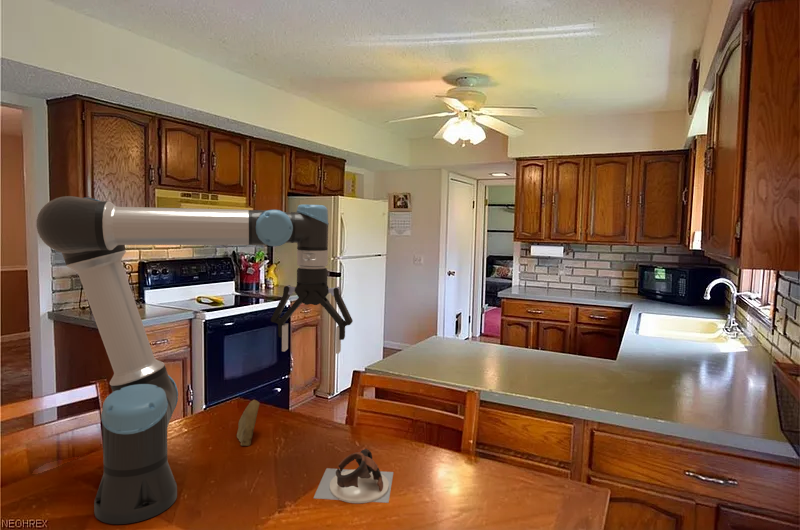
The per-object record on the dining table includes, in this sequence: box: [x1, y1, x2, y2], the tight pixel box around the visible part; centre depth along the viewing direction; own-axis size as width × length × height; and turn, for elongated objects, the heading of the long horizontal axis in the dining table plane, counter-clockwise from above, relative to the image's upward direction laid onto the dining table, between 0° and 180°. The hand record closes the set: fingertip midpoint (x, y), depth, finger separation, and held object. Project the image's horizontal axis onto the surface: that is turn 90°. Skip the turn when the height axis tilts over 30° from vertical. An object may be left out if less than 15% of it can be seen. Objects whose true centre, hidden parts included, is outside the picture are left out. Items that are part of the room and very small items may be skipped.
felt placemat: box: [313, 467, 394, 504], centre depth 111 cm, size 16×13×1 cm
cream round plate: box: [330, 468, 389, 504], centre depth 110 cm, size 13×13×1 cm
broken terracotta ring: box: [336, 448, 383, 491], centre depth 109 cm, size 12×10×8 cm
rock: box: [236, 399, 260, 447], centre depth 134 cm, size 11×9×10 cm
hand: (311, 351), depth 124 cm, fingers open, 13 cm apart
